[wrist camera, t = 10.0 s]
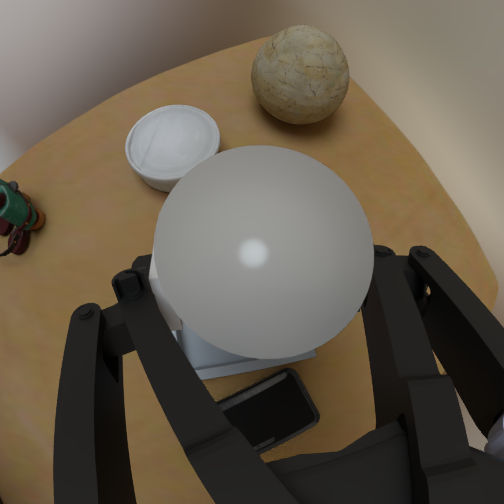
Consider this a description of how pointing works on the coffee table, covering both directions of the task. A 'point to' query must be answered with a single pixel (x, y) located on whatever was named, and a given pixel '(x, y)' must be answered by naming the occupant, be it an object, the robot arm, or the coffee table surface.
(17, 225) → the binoculars
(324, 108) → the fossilized egg
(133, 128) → the ramekin
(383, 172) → the coffee table surface
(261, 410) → the phone
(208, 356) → the tray
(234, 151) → the beige round cylinder
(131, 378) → the coffee table surface
